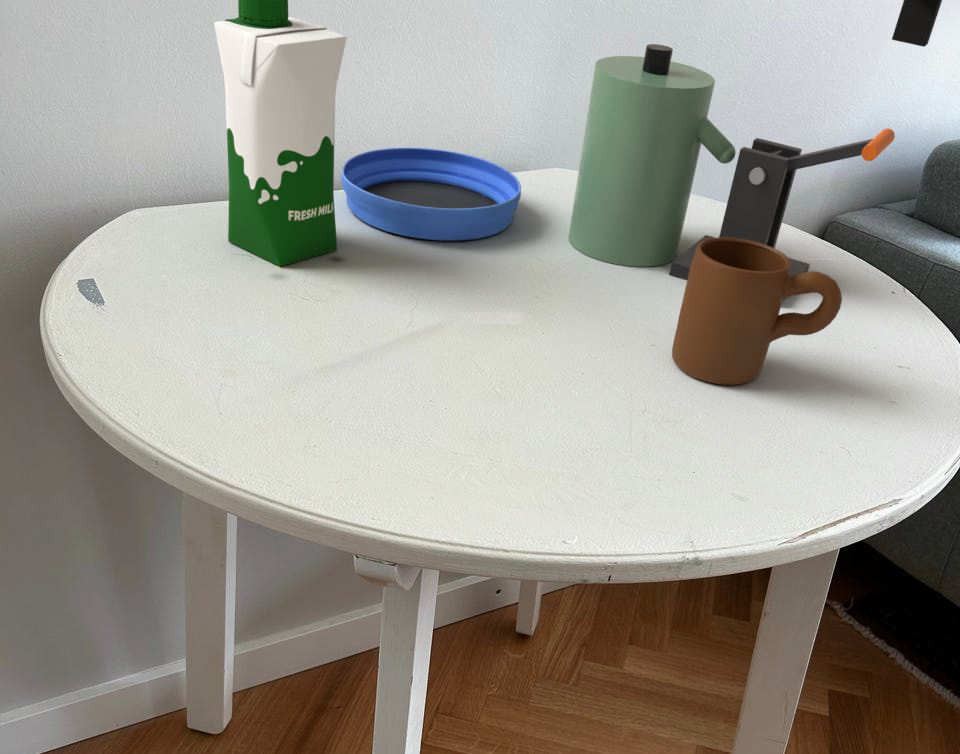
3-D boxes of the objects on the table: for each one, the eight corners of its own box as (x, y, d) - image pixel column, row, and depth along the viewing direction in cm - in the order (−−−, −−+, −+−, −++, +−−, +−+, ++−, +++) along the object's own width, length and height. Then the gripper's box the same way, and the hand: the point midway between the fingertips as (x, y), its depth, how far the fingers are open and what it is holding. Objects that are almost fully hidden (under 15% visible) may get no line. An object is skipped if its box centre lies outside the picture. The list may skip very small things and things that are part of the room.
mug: (816, 369, 94) (852, 259, 88) (811, 408, 88) (849, 293, 82) (676, 338, 95) (702, 229, 89) (662, 375, 90) (688, 260, 84)
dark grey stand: (806, 275, 110) (843, 151, 103) (778, 306, 103) (815, 176, 96) (703, 246, 114) (731, 124, 106) (668, 274, 107) (696, 145, 99)
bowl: (328, 179, 118) (329, 144, 115) (493, 184, 122) (496, 150, 120) (355, 243, 104) (356, 205, 102) (538, 246, 109) (543, 209, 107)
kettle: (725, 254, 113) (773, 59, 101) (688, 286, 105) (736, 79, 94) (594, 217, 117) (627, 26, 106) (550, 245, 109) (579, 43, 98)
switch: (896, 148, 99) (893, 120, 98) (879, 166, 95) (875, 136, 93) (764, 177, 106) (760, 150, 105) (742, 194, 101) (737, 167, 100)
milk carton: (286, 222, 107) (284, -16, 94) (352, 252, 103) (360, 8, 90) (213, 241, 101) (201, -9, 89) (280, 273, 97) (277, 16, 84)
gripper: (989, -334, 83) (882, 22, 98) (960, -352, 73) (846, 43, 88) (1095, -322, 80) (968, 40, 95) (1078, -340, 71) (940, 64, 86)
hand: (909, 41), depth 92 cm, fingers closed
